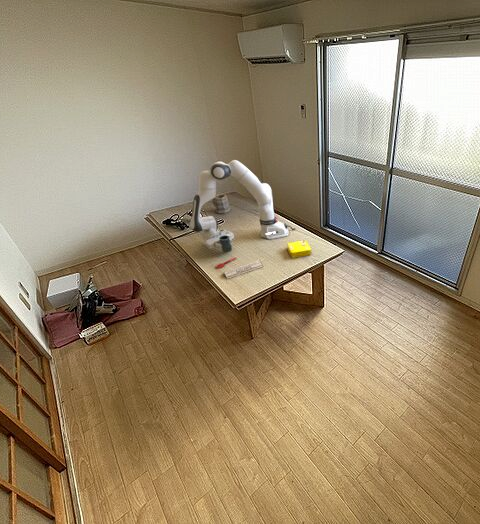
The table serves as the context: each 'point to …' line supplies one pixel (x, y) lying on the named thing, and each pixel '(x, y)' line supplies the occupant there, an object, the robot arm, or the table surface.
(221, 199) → the tankard
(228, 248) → the mug
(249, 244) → the table surface
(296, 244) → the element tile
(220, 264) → the spoon
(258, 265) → the newspaper
